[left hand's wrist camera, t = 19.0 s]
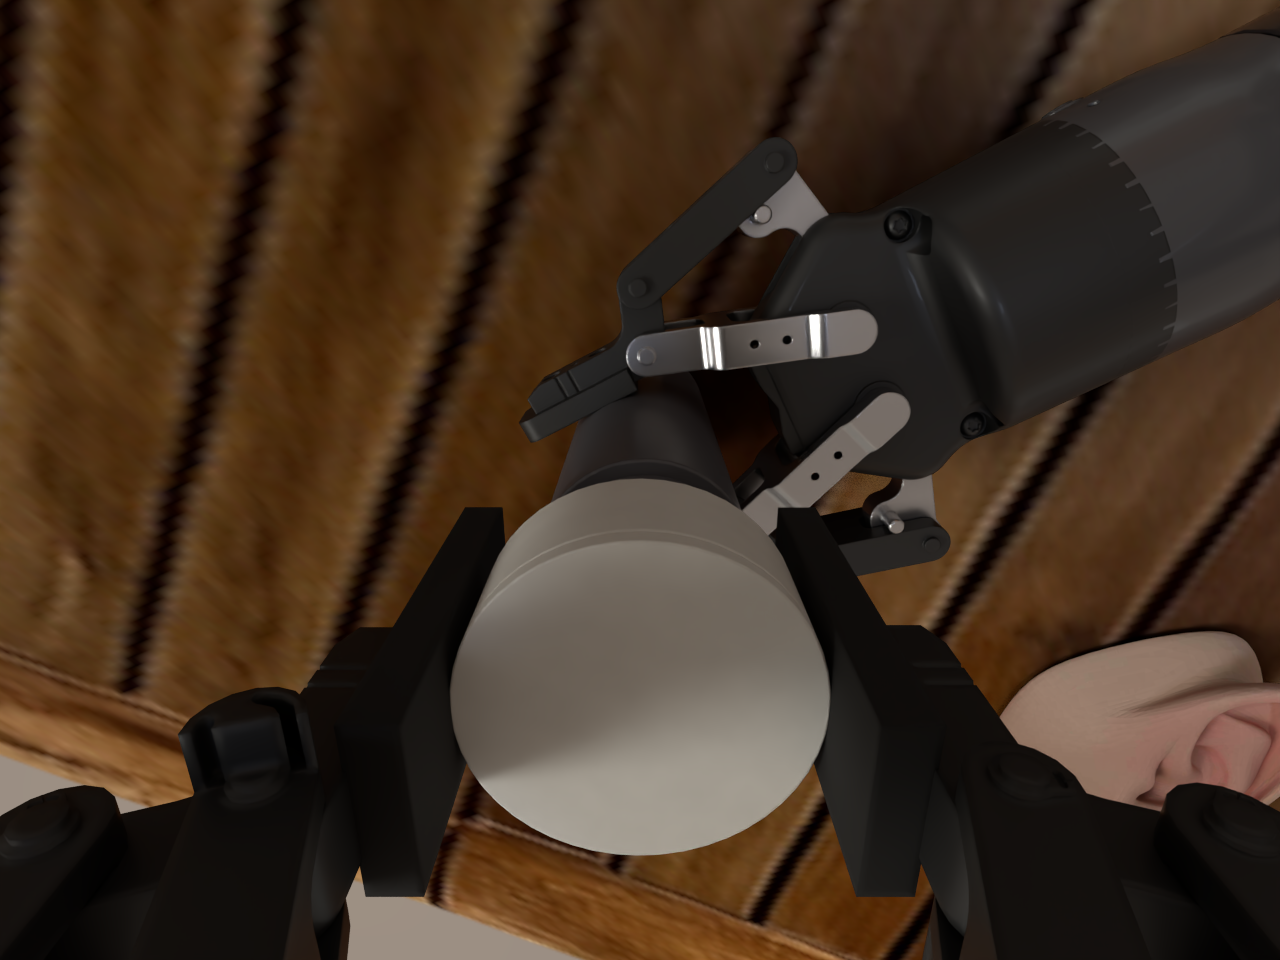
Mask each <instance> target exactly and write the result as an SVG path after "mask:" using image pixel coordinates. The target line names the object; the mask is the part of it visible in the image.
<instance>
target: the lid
mask: <svg viewBox="0 0 1280 960" xmlns="http://www.w3.org/2000/svg"><path fill="white" fill-rule="evenodd" d="M449 691H450V706H451V715H452V723H453V729H454V733H455V736H456V739H457V742H458V745H459V748H460V751H461V753H462V755H463V756H464V758H465V760H466V762H467V764H468V766H469V768H470V770H471V771H472V773H473V774H474V775H475V777H476V778H477V780H478V781H479V782H480V784H481V785H482V786H483V788H484V789H485V790H486V791H487V792H488V793H489V794H490V795H491V796H492V797H493V798H494V799H495V800H496V801H497V802H498V803H499V804H500V805H501V806H503V807H504V808H505V809H506V810H507V811H509V812H510V813H511V814H512V815H513V816H515V817H516V818H518V819H520V820H521V821H523V822H524V823H526V824H527V825H529V826H530V827H532V828H534V829H536V830H538V831H540V832H542V833H544V834H546V835H548V836H550V837H552V838H555V839H557V840H560V841H563V842H565V843H568V844H571V845H574V846H578V847H582V848H586V849H590V850H593V851H600V852H606V853H612V854H624V855H658V854H667V853H674V852H681V851H686V850H690V849H695V848H699V847H703V846H706V845H709V844H712V843H715V842H718V841H720V840H723V839H726V838H728V837H730V836H732V835H734V834H736V833H739V832H741V831H743V830H745V829H747V828H748V827H750V826H751V825H753V824H755V823H756V822H758V821H759V820H761V819H763V818H764V817H766V816H767V815H768V814H769V813H771V812H772V811H773V810H774V809H776V808H777V807H778V806H779V805H781V804H782V803H783V802H784V801H785V800H786V799H787V798H788V796H789V795H790V794H791V793H792V792H793V791H794V790H795V789H796V788H797V787H798V785H799V784H800V783H801V781H802V780H803V779H804V777H805V776H806V775H807V773H808V772H809V770H810V768H811V767H812V765H813V763H814V761H815V759H816V758H817V756H818V754H819V751H820V749H821V746H822V743H823V741H824V738H825V735H826V731H827V726H828V719H829V710H830V701H831V687H830V678H829V671H828V667H827V664H826V660H825V656H824V653H823V650H822V648H821V645H820V643H819V641H818V638H817V636H816V633H815V631H814V629H813V626H812V624H811V622H810V619H809V617H808V614H807V612H806V610H805V607H804V605H803V603H802V600H801V598H800V596H799V593H798V591H797V588H796V586H795V584H794V581H793V579H792V577H791V574H790V572H789V570H788V568H787V565H786V563H785V561H784V559H783V557H782V555H781V553H780V552H779V550H778V549H777V547H776V546H775V544H774V543H773V541H772V540H771V539H770V537H769V536H768V535H767V534H766V533H765V532H764V531H763V529H762V528H761V527H760V526H759V525H758V524H757V523H756V522H754V521H753V520H752V519H751V518H750V517H749V516H747V515H746V514H745V513H744V512H743V511H741V510H740V509H738V508H737V507H735V506H733V505H732V504H730V503H729V502H727V501H726V500H724V499H722V498H720V497H717V496H715V495H713V494H711V493H709V492H707V491H704V490H701V489H698V488H695V487H692V486H689V485H686V484H681V483H676V482H671V481H666V480H655V479H624V480H615V481H610V482H604V483H598V484H595V485H592V486H589V487H585V488H582V489H579V490H576V491H574V492H572V493H569V494H567V495H565V496H563V497H561V498H558V499H557V500H555V501H553V502H552V503H550V504H549V505H547V506H545V507H544V508H542V509H540V510H539V511H538V512H537V513H535V514H534V515H533V516H532V517H531V518H529V519H528V520H527V521H526V522H525V523H523V525H522V526H521V527H520V528H519V529H518V530H517V531H516V532H515V533H514V534H513V535H512V537H511V538H510V539H509V541H508V542H507V543H506V545H505V546H504V548H503V549H502V551H501V552H500V554H499V556H498V558H497V560H496V562H495V564H494V566H493V568H492V570H491V572H490V575H489V577H488V580H487V582H486V584H485V587H484V589H483V591H482V594H481V596H480V599H479V601H478V603H477V606H476V608H475V611H474V613H473V615H472V618H471V620H470V622H469V625H468V627H467V630H466V632H465V634H464V637H463V639H462V641H461V644H460V646H459V649H458V652H457V655H456V658H455V662H454V665H453V668H452V675H451V682H450V689H449Z"/></svg>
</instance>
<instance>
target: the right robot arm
mask: <svg viewBox="0 0 1280 960" xmlns="http://www.w3.org/2000/svg"><path fill="white" fill-rule="evenodd" d="M796 168H797V154H796V151H795V149H794V147H793V146H792V144H791V143H790V142H788V141H787V140H785V139H783V138H779V137H773V138H769V139H766V140H765V141H763V142H762V143H760V144H759V145H757V146H756V147H755V148H753V149H752V150H751V151H749V152H748V153H747V154H746V155H745V156H744V157H743V158H742V159H740V160H739V161H738V162H737V163H736V164H735V165H734V166H733V167H732V168H731V169H730V170H729V171H728V172H727V173H725V174H724V175H723V176H722V177H721V178H720V179H719V180H718V181H717V182H716V183H715V184H714V185H713V186H712V187H710V188H709V189H708V190H707V191H706V192H705V193H704V194H703V195H702V196H701V197H700V198H699V199H698V200H697V201H695V202H694V203H693V204H692V205H691V206H690V207H689V208H688V209H687V210H686V211H685V212H684V213H683V214H682V215H680V216H679V217H678V218H677V219H676V220H675V221H674V222H673V223H672V224H671V225H670V226H669V227H668V228H667V229H665V230H664V231H663V232H662V233H661V234H660V235H659V236H658V237H657V238H656V239H655V240H654V241H653V242H652V243H650V244H649V245H648V246H647V247H646V248H645V249H644V250H643V251H642V252H641V253H640V254H639V255H638V256H637V257H635V258H634V259H633V260H632V261H631V262H630V263H629V264H628V265H627V266H626V267H625V268H624V269H623V271H622V272H621V274H620V276H619V279H618V281H617V294H618V297H619V304H620V311H621V319H622V330H621V332H620V334H619V335H618V336H617V338H616V339H615V340H613V341H612V342H610V343H609V344H607V345H605V346H603V347H601V348H599V349H597V350H595V351H593V352H591V353H589V354H588V355H586V356H584V357H582V358H580V359H578V360H576V361H574V362H573V363H570V364H568V365H567V366H565V367H563V368H561V369H559V370H557V371H555V372H553V373H551V374H549V375H547V376H546V377H544V378H543V380H542V381H541V382H540V383H539V385H538V386H537V387H536V388H535V389H534V391H533V392H532V394H531V395H530V397H529V398H528V401H529V403H530V405H531V406H532V407H531V408H530V409H529V410H527V411H526V412H525V414H524V416H523V417H522V419H521V420H520V422H519V424H520V425H521V427H522V429H523V430H524V432H525V434H526V435H527V437H528V439H529V440H530V442H531V443H532V442H536V441H538V440H541V439H543V438H545V437H547V436H549V435H551V434H553V433H555V432H556V431H558V430H560V429H562V428H564V427H566V426H568V425H570V424H572V423H574V422H576V421H578V420H580V419H582V418H584V417H586V416H588V415H590V414H592V413H594V412H596V411H598V410H600V409H601V408H603V407H605V406H607V405H609V404H610V403H613V402H615V401H618V400H620V399H622V398H624V397H626V396H627V395H629V394H631V393H633V392H635V391H637V390H638V380H640V379H642V378H644V377H651V376H659V375H666V374H674V373H681V372H688V371H696V370H704V369H710V370H730V369H737V368H744V367H748V369H749V371H750V373H751V375H752V376H753V378H754V379H755V380H756V382H757V383H758V384H759V386H760V387H761V388H762V390H763V391H764V392H765V393H766V394H767V395H768V401H769V407H770V413H771V418H772V420H773V422H774V425H775V427H776V429H777V431H778V434H777V435H776V436H775V437H774V438H773V439H772V440H771V441H770V442H769V443H768V444H767V445H766V446H765V447H764V448H763V449H762V450H761V451H760V452H759V453H758V455H757V456H756V459H755V461H754V463H753V464H752V466H751V467H750V468H749V469H748V470H747V471H745V472H744V473H743V474H742V475H741V476H740V477H739V478H738V479H737V480H736V481H735V482H734V483H733V484H732V485H733V488H734V491H735V494H736V497H737V499H738V502H739V505H740V508H741V511H743V512H744V513H745V514H746V515H747V516H749V517H750V518H751V519H752V520H753V521H754V522H756V523H757V524H758V525H759V526H760V527H761V528H762V529H763V531H764V532H765V533H766V534H767V535H768V536H769V537H770V539H771V540H772V541H773V543H774V544H775V540H776V527H777V514H778V507H810V506H811V505H812V504H813V503H815V502H816V501H817V500H818V499H819V498H820V497H821V496H822V495H823V494H824V493H826V492H827V491H828V490H829V489H830V488H831V487H832V486H833V485H834V484H835V483H837V482H838V481H839V480H840V479H841V478H842V477H843V476H844V475H845V474H846V473H848V472H856V473H863V474H870V475H877V476H884V477H891V478H892V479H891V481H890V483H889V484H888V485H887V486H886V487H885V488H884V489H882V490H880V491H877V492H874V493H872V494H870V495H869V496H868V497H867V498H866V500H865V501H864V503H863V507H861V508H856V509H851V510H846V511H842V512H837V513H832V514H827V515H822V516H821V518H822V520H823V521H824V523H825V525H826V526H827V528H828V530H829V531H830V533H831V535H832V536H833V538H834V540H835V541H836V543H837V545H838V546H839V548H840V549H841V551H842V553H843V554H844V556H845V558H846V559H847V561H848V563H849V564H850V566H851V568H852V569H853V571H854V573H855V574H856V576H860V575H865V574H870V573H875V572H880V571H885V570H890V569H895V568H900V567H905V566H910V565H915V564H920V563H925V562H930V561H934V560H937V559H939V558H941V557H942V556H944V555H945V554H946V552H947V551H948V549H949V547H950V536H949V534H948V533H947V532H946V530H945V529H943V528H942V527H941V525H940V524H939V522H938V521H937V520H936V514H935V504H934V494H933V483H932V474H933V473H935V472H936V471H938V470H939V469H940V468H941V467H942V466H943V465H944V464H945V463H946V461H947V460H948V459H949V458H950V457H951V456H952V455H953V454H954V453H955V452H956V451H957V450H958V449H959V448H960V447H961V446H963V445H964V444H965V443H967V442H969V441H970V440H973V439H975V438H978V437H981V436H984V435H987V434H990V433H994V432H997V431H1000V430H1003V429H1006V428H1009V427H1011V426H1014V425H1016V424H1018V423H1020V422H1022V421H1025V420H1027V419H1029V418H1031V417H1033V416H1035V415H1038V414H1040V413H1042V412H1044V411H1046V410H1049V409H1051V408H1053V407H1055V406H1057V405H1060V404H1062V403H1064V402H1066V401H1068V400H1071V399H1073V398H1075V397H1077V396H1079V395H1081V394H1084V393H1086V392H1088V391H1090V390H1092V389H1095V388H1097V387H1099V386H1101V385H1103V384H1106V383H1108V382H1110V381H1112V380H1114V379H1116V378H1118V377H1121V376H1123V375H1125V374H1127V373H1129V372H1132V371H1134V370H1136V369H1138V368H1140V367H1143V366H1145V365H1147V364H1149V363H1151V362H1153V361H1156V360H1158V359H1160V358H1162V357H1164V356H1167V355H1169V354H1171V353H1173V352H1175V351H1178V350H1180V349H1182V348H1184V347H1187V346H1189V345H1191V344H1193V343H1195V342H1198V341H1200V340H1202V339H1204V338H1206V337H1209V336H1211V335H1213V334H1215V333H1218V332H1220V331H1222V330H1224V329H1226V328H1228V327H1230V326H1232V325H1234V324H1236V323H1238V322H1240V321H1242V320H1244V319H1246V318H1248V317H1249V316H1251V315H1253V314H1255V313H1256V312H1258V311H1260V310H1261V309H1263V308H1265V307H1267V306H1268V305H1270V304H1272V303H1273V302H1275V301H1277V300H1278V299H1280V7H1278V8H1276V9H1274V10H1272V11H1270V12H1268V13H1266V14H1264V15H1262V16H1260V17H1258V18H1257V19H1255V20H1253V21H1251V22H1249V23H1247V24H1245V25H1243V26H1241V27H1239V28H1237V29H1235V30H1234V31H1232V32H1230V33H1228V34H1226V35H1224V36H1222V37H1220V38H1219V39H1217V40H1215V41H1213V42H1211V43H1209V44H1206V45H1204V46H1202V47H1200V48H1198V49H1195V50H1193V51H1190V52H1188V53H1185V54H1182V55H1180V56H1177V57H1174V58H1171V59H1169V60H1166V61H1163V62H1160V63H1157V64H1155V65H1152V66H1150V67H1147V68H1145V69H1142V70H1140V71H1137V72H1135V73H1133V74H1131V75H1129V76H1127V77H1125V78H1123V79H1121V80H1118V81H1116V82H1114V83H1112V84H1110V85H1108V86H1106V87H1104V88H1102V89H1100V90H1098V91H1096V92H1094V93H1093V94H1091V95H1089V96H1087V97H1085V98H1083V97H1082V98H1079V99H1076V100H1074V101H1073V100H1071V101H1069V102H1066V103H1064V104H1062V105H1061V106H1059V107H1057V108H1055V109H1054V110H1052V111H1051V112H1049V113H1048V114H1046V115H1045V116H1043V117H1042V119H1041V120H1040V121H1039V122H1037V123H1035V124H1033V125H1031V126H1029V127H1027V128H1025V129H1024V130H1022V131H1020V132H1018V133H1016V134H1014V135H1012V136H1010V137H1008V138H1006V139H1004V140H1003V141H1001V142H999V143H997V144H995V145H993V146H991V147H989V148H987V149H985V150H983V151H981V152H980V153H978V154H976V155H974V156H972V157H970V158H968V159H966V160H964V161H962V162H960V163H959V164H957V165H955V166H953V167H951V168H949V169H947V170H945V171H943V172H941V173H939V174H938V175H936V176H934V177H932V178H930V179H928V180H926V181H924V182H922V183H920V184H918V185H917V186H915V187H913V188H911V189H909V190H907V191H905V192H903V193H901V194H899V195H897V196H896V197H894V198H892V199H890V200H888V201H886V202H884V203H882V204H880V205H878V206H876V207H874V208H872V209H869V210H866V211H863V212H858V213H846V212H841V213H829V214H828V213H827V212H826V210H825V209H824V208H823V206H822V205H821V204H820V202H819V201H818V200H817V198H816V197H815V196H814V194H813V193H812V192H811V190H810V189H809V188H808V186H807V185H806V184H805V182H804V181H803V180H802V178H801V177H800V176H799V174H798V173H797V172H796ZM781 228H783V229H786V230H789V231H790V232H792V233H793V234H794V235H795V238H794V240H793V242H792V244H791V246H790V247H789V249H788V251H787V253H786V255H785V257H784V258H783V260H782V262H781V264H780V266H779V267H778V269H777V271H776V273H775V275H774V277H773V278H772V280H771V282H770V284H769V286H768V288H767V289H766V291H765V293H764V295H763V297H762V299H761V300H760V302H759V304H758V306H757V307H750V308H743V309H735V310H728V311H721V312H714V313H708V314H703V315H700V316H697V317H692V318H685V319H678V320H671V321H664V318H663V309H662V300H661V296H663V295H664V294H665V293H666V292H667V291H668V290H669V289H670V288H671V287H672V286H674V285H675V284H676V283H677V282H678V281H679V280H680V279H681V278H682V277H683V276H685V275H686V274H687V273H688V272H689V271H690V270H691V269H692V268H693V267H695V266H696V265H697V264H698V263H699V262H700V261H701V260H702V259H703V258H704V257H706V256H707V255H708V254H709V253H710V252H711V251H712V250H713V249H714V248H715V247H717V246H718V245H719V244H720V243H721V242H722V241H723V240H724V239H725V238H727V237H728V236H729V235H730V234H731V233H732V232H733V231H734V230H735V229H737V230H738V231H739V232H740V233H741V234H743V235H744V236H747V237H752V238H762V237H765V236H767V235H769V234H771V233H772V232H774V231H775V230H778V229H781ZM813 473H814V474H813ZM812 474H813V475H812Z"/></svg>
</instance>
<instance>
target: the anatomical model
mask: <svg viewBox="0 0 1280 960" xmlns="http://www.w3.org/2000/svg"><path fill="white" fill-rule="evenodd" d="M1000 719H1001V720H1002V722H1003V723H1004V724H1005V726H1006V727H1007V729H1008V730H1009V731H1010V733H1011V734H1012V736H1013V737H1014V738H1015V740H1016V741H1017V743H1018V744H1020V745H1024V746H1027V747H1031V748H1034V749H1036V750H1038V751H1040V752H1042V753H1044V754H1046V755H1048V756H1050V757H1052V758H1054V759H1055V760H1057V761H1058V762H1060V763H1061V764H1062V765H1063V766H1064V767H1066V768H1067V769H1068V770H1069V771H1070V772H1072V773H1073V774H1074V775H1075V776H1076V778H1077V779H1078V781H1079V782H1080V784H1081V785H1082V787H1083V788H1084V790H1085V791H1086V793H1088V794H1091V795H1095V796H1098V797H1101V798H1105V799H1109V800H1113V801H1118V802H1122V803H1127V804H1131V805H1135V806H1140V807H1144V808H1148V809H1153V810H1157V811H1161V810H1162V807H1163V804H1164V801H1165V798H1166V795H1167V793H1168V792H1170V791H1171V790H1172V789H1173V788H1174V787H1176V786H1177V785H1180V784H1188V783H1196V782H1198V783H1205V784H1211V785H1217V786H1223V787H1226V788H1229V789H1232V790H1235V791H1237V792H1241V793H1243V794H1246V795H1248V796H1251V797H1253V798H1255V799H1257V800H1259V801H1261V802H1262V803H1264V804H1266V805H1269V804H1270V803H1272V802H1273V801H1274V800H1276V799H1277V798H1278V797H1280V684H1278V683H1263V679H1262V674H1261V669H1260V665H1259V662H1258V660H1257V657H1256V655H1255V653H1254V651H1253V650H1252V648H1251V647H1250V646H1249V644H1248V643H1247V642H1246V641H1245V640H1243V639H1242V638H1240V637H1238V636H1236V635H1234V634H1230V633H1226V632H1218V631H1203V632H1189V633H1181V634H1173V635H1167V636H1162V637H1156V638H1150V639H1145V640H1140V641H1135V642H1131V643H1127V644H1122V645H1118V646H1114V647H1109V648H1106V649H1102V650H1098V651H1095V652H1091V653H1088V654H1085V655H1082V656H1079V657H1076V658H1073V659H1070V660H1067V661H1065V662H1063V663H1060V664H1058V665H1056V666H1054V667H1051V668H1049V669H1047V670H1046V671H1044V672H1042V673H1041V674H1039V675H1038V676H1036V677H1035V678H1033V679H1032V680H1030V681H1029V682H1028V683H1027V684H1026V685H1025V686H1024V687H1023V688H1022V689H1020V690H1019V692H1018V693H1017V694H1016V695H1015V696H1014V697H1013V699H1012V700H1011V701H1010V703H1009V704H1008V705H1007V707H1006V708H1005V710H1004V711H1003V713H1002V714H1001V716H1000Z"/></svg>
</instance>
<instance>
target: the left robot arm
mask: <svg viewBox="0 0 1280 960" xmlns="http://www.w3.org/2000/svg"><path fill="white" fill-rule="evenodd" d="M504 546H505V535H504V521H503V508H502V507H465V509H464V510H463V512H462V514H461V515H460V517H459V519H458V520H457V522H456V524H455V525H454V527H453V529H452V530H451V532H450V534H449V535H448V537H447V539H446V540H445V542H444V544H443V545H442V547H441V549H440V550H439V552H438V554H437V555H436V557H435V558H434V560H433V562H432V563H431V565H430V567H429V568H428V570H427V572H426V573H425V575H424V577H423V578H422V580H421V582H420V583H419V585H418V587H417V588H416V590H415V592H414V593H413V595H412V597H411V598H410V600H409V602H408V603H407V605H406V607H405V608H404V610H403V611H402V613H401V615H400V616H399V618H398V620H397V621H396V623H395V625H394V626H393V627H360V628H359V629H357V630H356V631H354V632H353V633H352V634H350V635H349V636H347V637H346V638H344V639H343V640H342V641H340V642H339V643H337V644H336V645H335V646H334V647H333V649H332V650H331V651H330V653H329V654H328V656H327V657H326V658H325V660H324V661H323V663H322V664H321V665H320V670H317V671H316V672H315V674H314V675H313V677H312V678H311V679H310V681H309V682H308V687H307V688H304V689H303V691H302V692H301V693H300V694H298V693H297V692H296V691H294V690H289V689H285V688H281V687H267V688H255V689H251V690H247V691H243V692H239V693H235V694H232V695H230V696H227V697H225V698H223V699H221V700H219V701H216V702H214V703H212V704H210V705H208V706H207V707H205V708H204V709H203V710H201V711H200V712H199V713H197V714H196V715H195V716H193V717H192V718H190V719H189V721H188V722H187V723H186V725H185V726H184V727H183V728H182V730H181V731H180V732H179V734H178V737H179V740H180V744H181V747H182V751H183V754H184V758H185V761H186V765H187V768H188V772H189V775H190V779H191V782H192V786H193V789H194V795H193V796H192V797H189V798H185V799H182V800H179V801H175V802H171V803H167V804H162V805H158V806H154V807H149V808H145V809H141V810H137V811H132V812H128V813H124V814H120V811H119V808H118V805H117V802H116V799H115V796H113V795H112V794H111V793H110V792H108V791H107V790H106V789H105V788H102V787H94V786H87V785H83V786H76V787H70V788H64V789H58V790H55V791H53V792H50V793H47V794H44V795H41V796H39V797H36V798H33V799H30V800H28V801H27V802H25V803H23V804H21V805H19V806H17V807H16V808H14V809H12V810H10V811H8V812H7V813H5V814H3V815H1V816H0V960H347V954H348V944H349V933H350V920H349V913H348V907H347V902H346V896H347V894H348V892H349V889H350V887H351V885H352V883H353V880H354V878H355V876H356V873H357V871H358V869H359V866H360V869H361V875H362V880H363V885H364V890H365V896H366V897H424V895H425V892H426V889H427V886H428V883H429V879H430V876H431V873H432V870H433V867H434V864H435V861H436V857H437V854H438V851H439V848H440V845H441V842H442V839H443V835H444V832H445V829H446V826H447V823H448V820H449V817H450V813H451V810H452V807H453V804H454V801H455V798H456V795H457V791H458V788H459V785H460V782H461V779H462V776H463V773H464V769H465V766H466V763H467V762H466V760H465V758H464V756H463V755H462V753H461V751H460V748H459V745H458V742H457V739H456V736H455V733H454V729H453V723H452V715H451V706H450V691H449V689H450V682H451V675H452V668H453V665H454V662H455V658H456V655H457V652H458V649H459V646H460V644H461V641H462V639H463V637H464V634H465V632H466V630H467V627H468V625H469V622H470V620H471V618H472V615H473V613H474V611H475V608H476V606H477V603H478V601H479V599H480V596H481V594H482V591H483V589H484V587H485V584H486V582H487V580H488V577H489V575H490V572H491V570H492V568H493V566H494V564H495V562H496V560H497V558H498V556H499V554H500V552H501V551H502V549H503V548H504ZM775 546H776V547H777V549H778V550H779V552H780V553H781V555H782V557H783V559H784V561H785V563H786V565H787V568H788V570H789V572H790V574H791V577H792V579H793V581H794V584H795V586H796V588H797V591H798V593H799V596H800V598H801V600H802V603H803V605H804V607H805V610H806V612H807V614H808V617H809V619H810V622H811V624H812V626H813V629H814V631H815V633H816V636H817V638H818V641H819V643H820V645H821V648H822V650H823V653H824V656H825V660H826V664H827V667H828V671H829V678H830V687H831V701H830V710H829V719H828V726H827V731H826V735H825V738H824V741H823V743H822V746H821V749H820V751H819V754H818V756H817V758H816V759H815V761H814V765H815V768H816V771H817V774H818V778H819V781H820V784H821V787H822V790H823V793H824V796H825V800H826V803H827V806H828V809H829V812H830V815H831V818H832V822H833V825H834V828H835V831H836V834H837V837H838V840H839V844H840V847H841V850H842V853H843V856H844V859H845V862H846V866H847V869H848V872H849V875H850V878H851V881H852V884H853V888H854V891H855V894H856V897H915V893H916V888H917V882H918V877H919V872H920V866H921V864H922V867H923V869H924V871H925V873H926V876H927V878H928V880H929V883H930V885H931V887H932V890H933V892H934V894H935V898H934V902H933V907H932V912H931V917H930V922H929V927H928V932H927V937H926V942H925V947H924V952H923V959H922V960H1280V812H1279V811H1277V810H1275V809H1273V808H1272V807H1270V806H1268V805H1266V804H1264V803H1262V802H1261V801H1259V800H1257V799H1255V798H1253V797H1251V796H1248V795H1246V794H1243V793H1241V792H1237V791H1235V790H1232V789H1229V788H1226V787H1223V786H1217V785H1211V784H1205V783H1198V782H1196V783H1188V784H1180V785H1177V786H1176V787H1174V788H1173V789H1172V790H1171V791H1170V792H1168V793H1167V795H1166V798H1165V801H1164V804H1163V807H1162V810H1161V811H1157V810H1153V809H1148V808H1144V807H1140V806H1135V805H1131V804H1127V803H1122V802H1118V801H1113V800H1109V799H1105V798H1101V797H1098V796H1095V795H1091V794H1088V793H1086V791H1085V790H1084V788H1083V787H1082V785H1081V784H1080V782H1079V781H1078V779H1077V778H1076V776H1075V775H1074V774H1073V773H1072V772H1070V771H1069V770H1068V769H1067V768H1066V767H1064V766H1063V765H1062V764H1061V763H1060V762H1058V761H1057V760H1055V759H1054V758H1052V757H1050V756H1048V755H1046V754H1044V753H1042V752H1040V751H1038V750H1036V749H1034V748H1031V747H1027V746H1024V745H1020V744H1018V743H1017V741H1016V740H1015V738H1014V737H1013V736H1012V734H1011V733H1010V731H1009V730H1008V729H1007V727H1006V726H1005V724H1004V723H1003V722H1002V720H1001V719H1000V717H999V716H998V715H997V713H996V712H995V711H994V709H993V708H992V706H991V705H990V704H989V702H988V701H987V699H986V698H985V697H984V695H983V694H982V692H981V691H980V690H979V688H978V687H977V686H976V685H973V680H972V679H971V677H970V676H969V674H968V673H967V672H966V670H965V669H964V668H961V663H960V662H959V660H958V659H957V658H956V656H955V655H954V654H953V652H952V651H951V649H950V648H949V647H948V645H947V644H946V643H945V642H944V641H942V640H941V639H939V638H938V637H937V636H935V635H934V634H932V633H931V632H930V631H928V630H927V629H925V628H924V627H922V626H921V625H886V624H885V622H884V621H883V619H882V617H881V616H880V614H879V612H878V611H877V609H876V607H875V606H874V604H873V602H872V601H871V599H870V597H869V596H868V594H867V593H866V591H865V589H864V588H863V586H862V584H861V583H860V581H859V579H858V578H857V576H856V574H855V573H854V571H853V569H852V568H851V566H850V564H849V563H848V561H847V559H846V558H845V556H844V554H843V553H842V551H841V549H840V548H839V546H838V545H837V543H836V541H835V540H834V538H833V536H832V535H831V533H830V531H829V530H828V528H827V526H826V525H825V523H824V521H823V520H822V518H821V516H820V515H819V513H818V511H817V510H816V508H815V507H778V514H777V527H776V540H775Z"/></svg>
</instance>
